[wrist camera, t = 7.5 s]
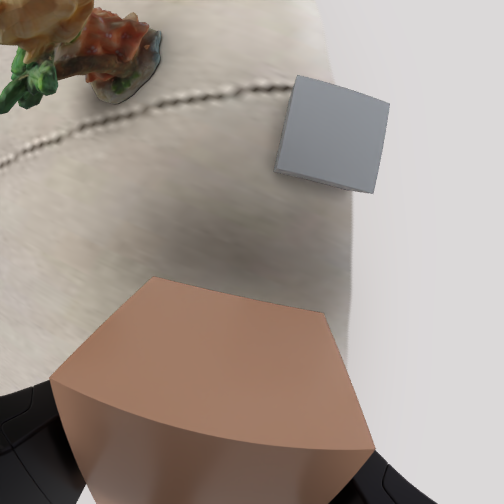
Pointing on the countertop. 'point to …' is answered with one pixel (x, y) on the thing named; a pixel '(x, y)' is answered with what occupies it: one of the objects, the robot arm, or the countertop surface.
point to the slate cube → (332, 136)
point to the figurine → (74, 50)
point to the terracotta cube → (211, 403)
